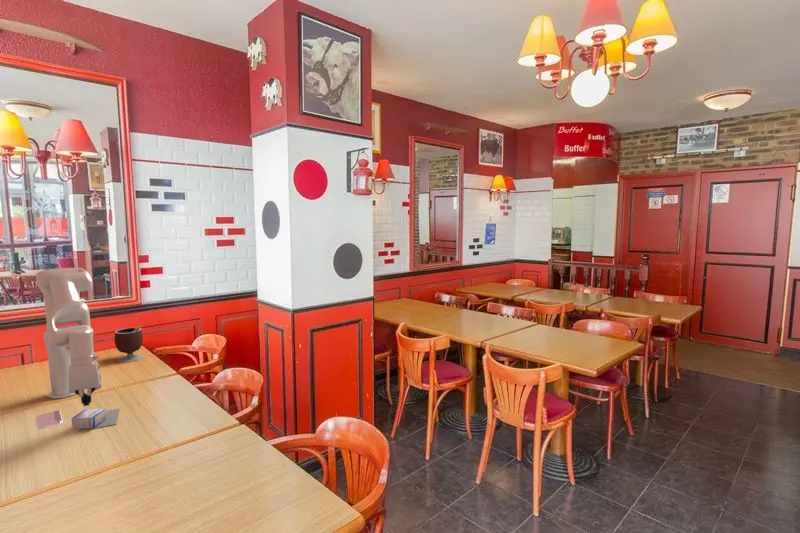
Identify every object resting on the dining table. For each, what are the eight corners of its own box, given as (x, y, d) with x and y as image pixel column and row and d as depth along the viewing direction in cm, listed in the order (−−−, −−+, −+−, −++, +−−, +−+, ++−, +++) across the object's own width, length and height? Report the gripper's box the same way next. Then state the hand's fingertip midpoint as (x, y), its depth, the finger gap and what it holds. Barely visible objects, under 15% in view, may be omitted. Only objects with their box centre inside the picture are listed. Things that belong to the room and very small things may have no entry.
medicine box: (84, 409, 175) (106, 408, 175) (85, 419, 175) (107, 418, 176) (70, 418, 167) (94, 416, 167) (72, 429, 167) (95, 427, 168)
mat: (85, 415, 179) (85, 414, 179) (119, 409, 185) (119, 408, 185) (78, 431, 165) (78, 431, 165) (116, 424, 171) (115, 424, 171)
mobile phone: (60, 409, 184) (63, 421, 172) (60, 411, 184) (63, 424, 173) (36, 415, 179) (38, 428, 167) (37, 417, 179) (38, 430, 168)
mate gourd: (110, 362, 245) (107, 328, 243) (129, 354, 259) (126, 322, 257) (134, 363, 243) (131, 329, 241) (152, 355, 257) (149, 323, 254)
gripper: (106, 354, 177) (110, 397, 179) (61, 360, 170) (65, 405, 172) (104, 360, 171) (108, 404, 173) (57, 366, 164) (61, 412, 166)
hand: (86, 404), depth 173 cm, fingers closed
